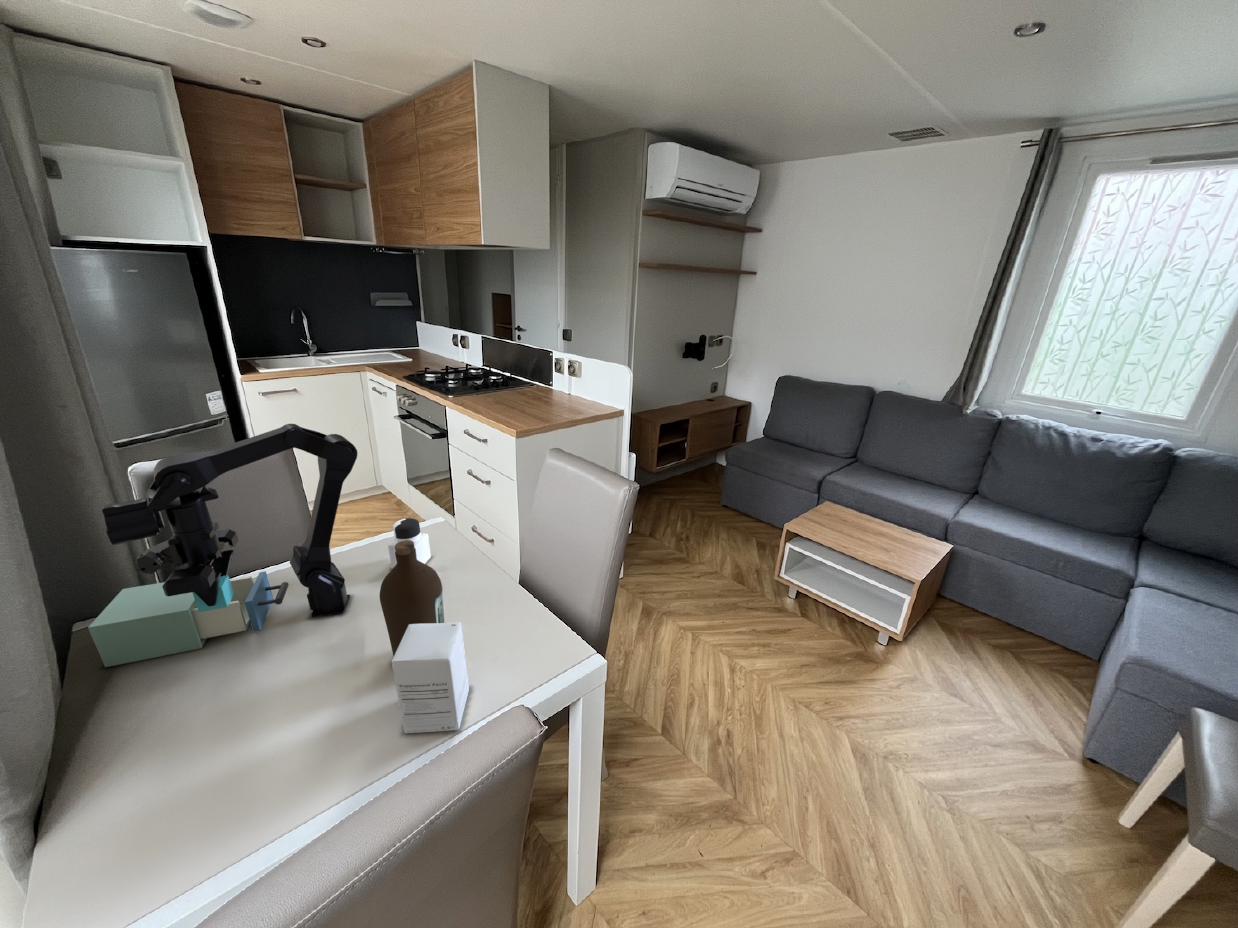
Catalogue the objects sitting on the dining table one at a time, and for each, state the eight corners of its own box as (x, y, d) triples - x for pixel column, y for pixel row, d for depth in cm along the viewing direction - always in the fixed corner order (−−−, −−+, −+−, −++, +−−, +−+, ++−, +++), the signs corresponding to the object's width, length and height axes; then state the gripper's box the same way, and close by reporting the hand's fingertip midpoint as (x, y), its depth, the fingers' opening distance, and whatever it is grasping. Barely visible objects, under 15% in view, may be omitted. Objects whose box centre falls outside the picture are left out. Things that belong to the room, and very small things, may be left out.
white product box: (418, 690, 88) (408, 622, 83) (470, 688, 89) (462, 620, 83) (402, 734, 79) (389, 661, 74) (459, 731, 80) (450, 658, 75)
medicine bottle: (431, 557, 130) (426, 516, 126) (418, 572, 123) (412, 529, 119) (405, 555, 130) (399, 514, 126) (391, 569, 124) (384, 527, 120)
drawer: (295, 595, 112) (288, 567, 109) (284, 626, 102) (276, 596, 99) (199, 612, 106) (189, 583, 103) (177, 647, 96) (166, 616, 93)
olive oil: (389, 683, 89) (368, 564, 81) (393, 645, 99) (374, 534, 90) (451, 669, 93) (436, 554, 84) (449, 633, 102) (435, 526, 93)
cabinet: (222, 610, 108) (211, 574, 104) (201, 648, 97) (188, 609, 94) (137, 625, 102) (122, 588, 99) (105, 667, 92) (87, 627, 88)
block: (234, 593, 97) (228, 574, 96) (227, 606, 93) (221, 587, 92) (206, 598, 95) (200, 579, 94) (199, 612, 92) (192, 592, 90)
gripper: (157, 511, 94) (181, 581, 99) (108, 560, 78) (140, 640, 83) (228, 502, 98) (248, 569, 103) (195, 547, 82) (220, 624, 87)
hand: (216, 598), depth 94 cm, fingers closed on block, 4 cm apart
